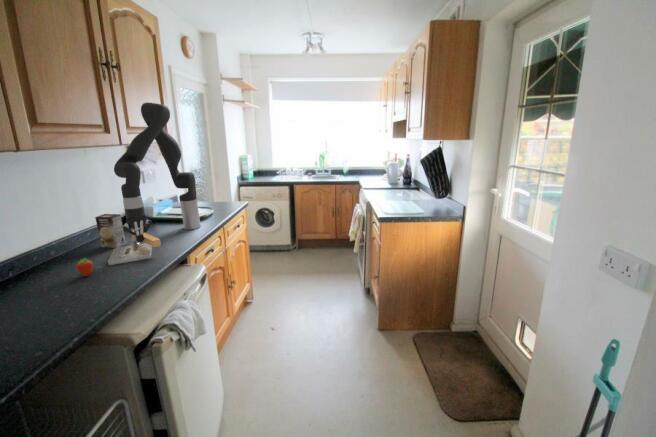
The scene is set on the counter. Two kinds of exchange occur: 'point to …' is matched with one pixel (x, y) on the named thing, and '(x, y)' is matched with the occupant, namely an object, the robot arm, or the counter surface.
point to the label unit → (130, 253)
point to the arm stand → (134, 242)
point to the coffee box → (110, 230)
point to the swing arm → (149, 239)
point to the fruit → (85, 267)
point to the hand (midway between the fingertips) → (140, 242)
